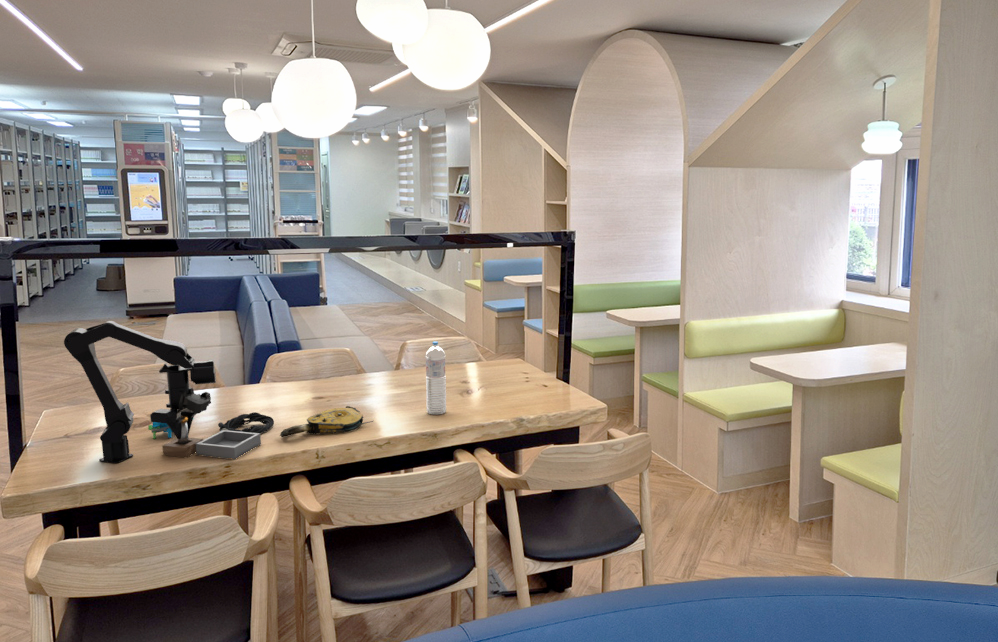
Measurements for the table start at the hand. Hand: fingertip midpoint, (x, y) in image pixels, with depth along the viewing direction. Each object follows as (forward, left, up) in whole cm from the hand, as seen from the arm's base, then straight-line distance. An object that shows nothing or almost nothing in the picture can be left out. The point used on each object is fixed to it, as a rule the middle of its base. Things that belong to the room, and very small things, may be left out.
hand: (182, 436), depth 218 cm
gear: (+12, +15, -5) cm, 19 cm away
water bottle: (+56, -59, -5) cm, 81 cm away
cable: (+22, -7, -5) cm, 24 cm away
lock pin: (0, 0, -4) cm, 4 cm away
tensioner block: (0, 0, -5) cm, 5 cm away
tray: (+5, -12, -5) cm, 14 cm away
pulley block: (+29, -30, -5) cm, 42 cm away
